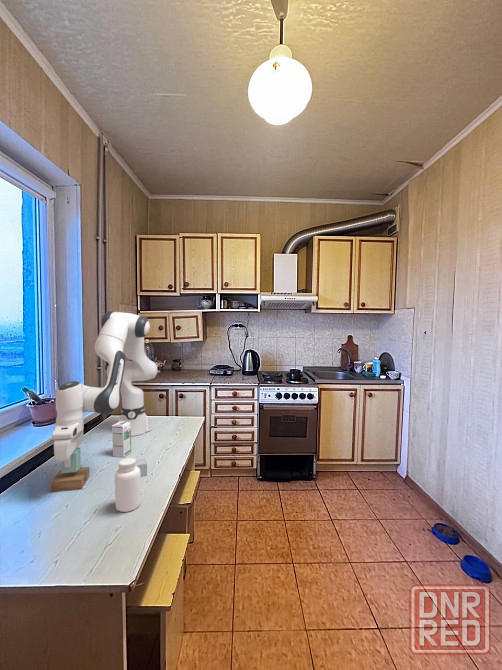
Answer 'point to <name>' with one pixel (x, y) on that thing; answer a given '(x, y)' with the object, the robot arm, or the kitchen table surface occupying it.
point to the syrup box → (121, 438)
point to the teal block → (72, 462)
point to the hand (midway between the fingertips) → (71, 462)
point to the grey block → (142, 467)
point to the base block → (70, 480)
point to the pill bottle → (127, 485)
